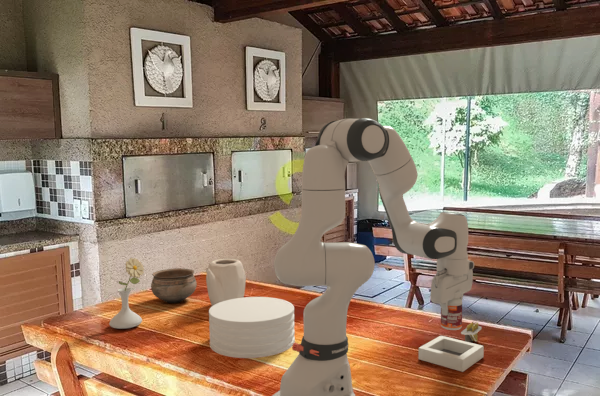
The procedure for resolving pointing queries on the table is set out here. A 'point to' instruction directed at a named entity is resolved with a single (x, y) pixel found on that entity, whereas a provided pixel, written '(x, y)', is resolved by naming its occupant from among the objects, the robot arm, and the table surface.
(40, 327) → the table surface
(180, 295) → the cooking pot
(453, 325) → the pill bottle
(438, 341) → the holder block
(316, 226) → the robot arm
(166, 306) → the table surface
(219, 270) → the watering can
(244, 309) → the plate stack
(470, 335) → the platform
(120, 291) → the flower in vase
